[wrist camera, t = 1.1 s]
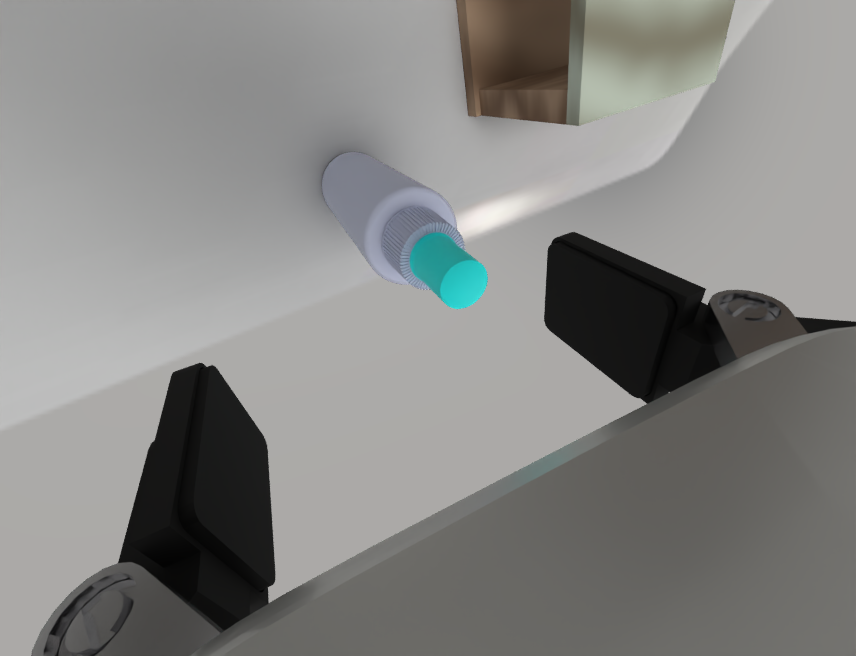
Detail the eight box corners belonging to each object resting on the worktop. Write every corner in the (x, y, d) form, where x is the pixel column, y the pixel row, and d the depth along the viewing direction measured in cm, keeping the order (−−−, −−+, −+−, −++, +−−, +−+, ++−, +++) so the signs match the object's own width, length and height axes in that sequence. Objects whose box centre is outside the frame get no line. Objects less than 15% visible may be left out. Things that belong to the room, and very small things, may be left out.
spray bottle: (321, 218, 34) (396, 346, 17) (320, 147, 31) (410, 217, 14) (383, 220, 36) (502, 334, 19) (387, 154, 33) (534, 221, 16)
